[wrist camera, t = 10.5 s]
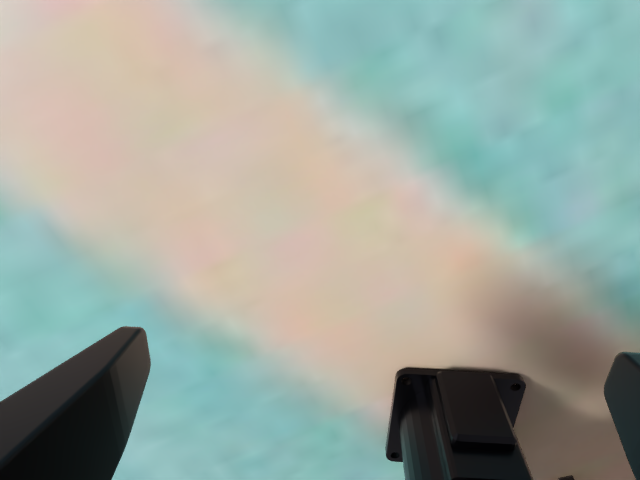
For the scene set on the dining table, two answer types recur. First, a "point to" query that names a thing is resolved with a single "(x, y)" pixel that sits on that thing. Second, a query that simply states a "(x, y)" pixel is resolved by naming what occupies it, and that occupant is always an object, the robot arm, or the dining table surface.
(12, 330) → the dining table surface
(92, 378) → the robot arm
